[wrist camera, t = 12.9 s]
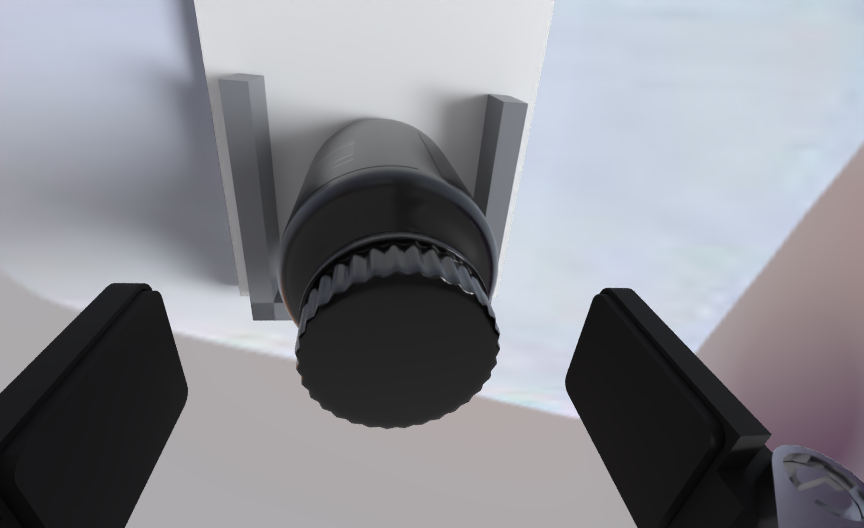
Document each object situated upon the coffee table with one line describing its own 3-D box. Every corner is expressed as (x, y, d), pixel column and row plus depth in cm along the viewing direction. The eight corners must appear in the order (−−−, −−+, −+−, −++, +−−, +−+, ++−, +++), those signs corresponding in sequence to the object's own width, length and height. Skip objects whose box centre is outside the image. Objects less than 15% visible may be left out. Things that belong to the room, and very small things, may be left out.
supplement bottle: (331, 264, 21) (293, 480, 11) (289, 130, 18) (177, 261, 8) (460, 239, 22) (544, 427, 11) (443, 102, 18) (539, 192, 8)
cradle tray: (194, -57, 15) (151, -80, 12) (548, -12, 18) (586, -22, 14) (245, 285, 22) (225, 325, 19) (493, 287, 25) (510, 322, 22)
